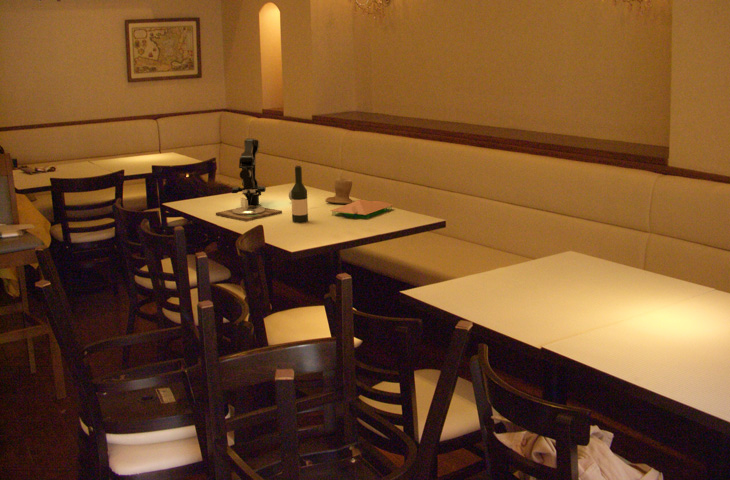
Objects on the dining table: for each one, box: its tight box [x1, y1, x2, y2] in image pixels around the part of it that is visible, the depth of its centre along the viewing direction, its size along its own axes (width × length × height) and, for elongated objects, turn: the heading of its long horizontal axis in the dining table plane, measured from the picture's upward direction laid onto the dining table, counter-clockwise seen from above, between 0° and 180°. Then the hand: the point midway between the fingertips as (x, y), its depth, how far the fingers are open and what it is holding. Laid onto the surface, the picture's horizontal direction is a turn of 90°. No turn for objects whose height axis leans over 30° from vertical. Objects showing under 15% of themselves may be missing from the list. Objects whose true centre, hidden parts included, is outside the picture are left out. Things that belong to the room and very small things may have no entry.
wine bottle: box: [291, 164, 309, 224], centre depth 391 cm, size 8×8×30 cm
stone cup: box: [324, 177, 354, 205], centre depth 440 cm, size 15×12×15 cm
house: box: [330, 199, 393, 220], centre depth 413 cm, size 23×33×8 cm
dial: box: [232, 197, 266, 215], centre depth 413 cm, size 22×18×6 cm
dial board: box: [215, 205, 283, 222], centre depth 414 cm, size 26×26×2 cm
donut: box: [288, 187, 293, 202], centre depth 444 cm, size 10×4×10 cm, turn 121°
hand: (249, 204), depth 421 cm, fingers closed
